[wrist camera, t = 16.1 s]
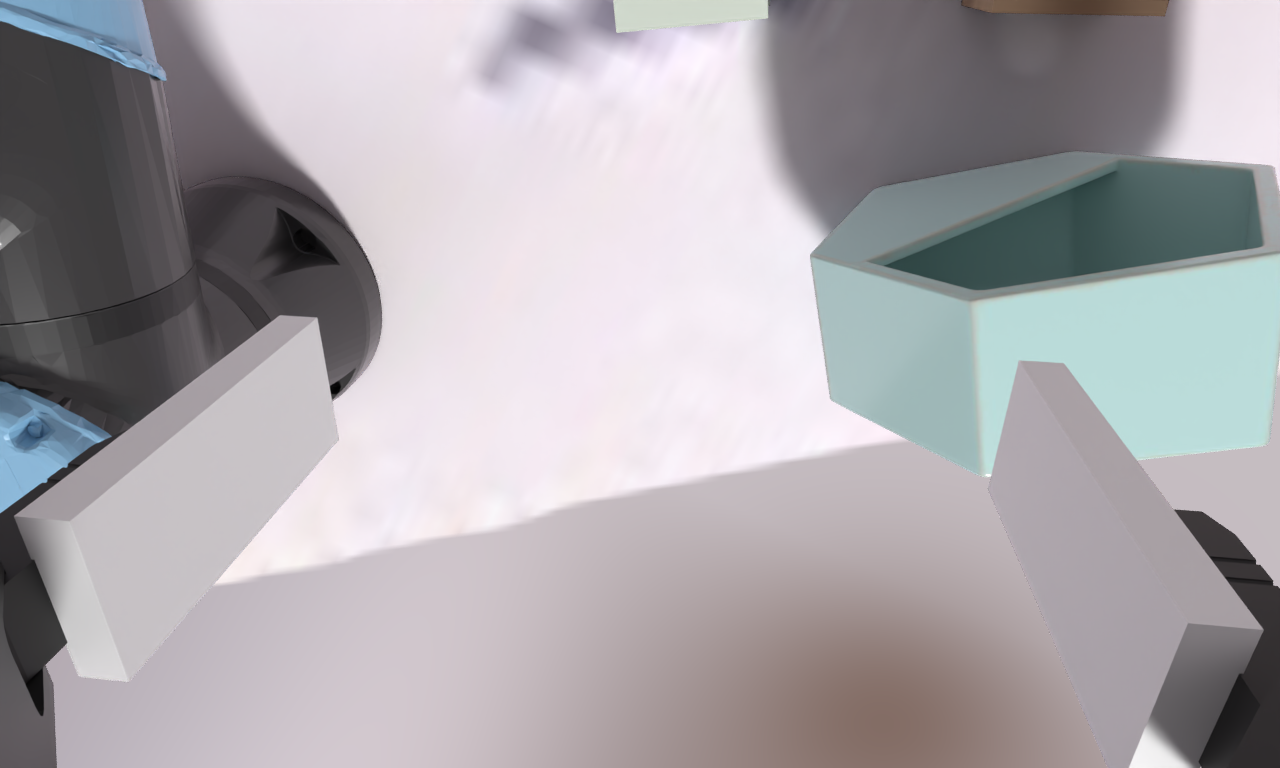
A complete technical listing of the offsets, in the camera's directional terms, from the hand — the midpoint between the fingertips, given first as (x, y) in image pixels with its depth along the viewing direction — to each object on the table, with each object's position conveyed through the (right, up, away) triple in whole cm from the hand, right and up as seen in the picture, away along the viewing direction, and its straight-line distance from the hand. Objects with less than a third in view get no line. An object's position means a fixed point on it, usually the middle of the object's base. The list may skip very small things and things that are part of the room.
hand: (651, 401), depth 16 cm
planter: (+19, +9, +30) cm, 37 cm away
